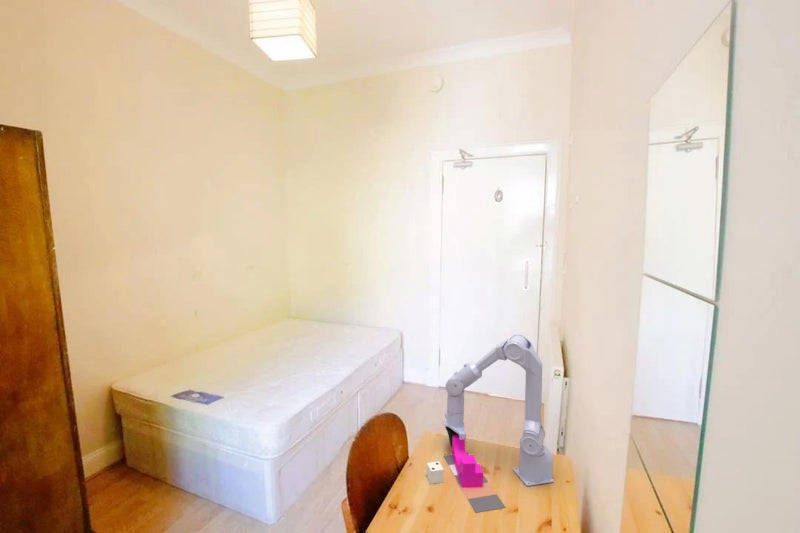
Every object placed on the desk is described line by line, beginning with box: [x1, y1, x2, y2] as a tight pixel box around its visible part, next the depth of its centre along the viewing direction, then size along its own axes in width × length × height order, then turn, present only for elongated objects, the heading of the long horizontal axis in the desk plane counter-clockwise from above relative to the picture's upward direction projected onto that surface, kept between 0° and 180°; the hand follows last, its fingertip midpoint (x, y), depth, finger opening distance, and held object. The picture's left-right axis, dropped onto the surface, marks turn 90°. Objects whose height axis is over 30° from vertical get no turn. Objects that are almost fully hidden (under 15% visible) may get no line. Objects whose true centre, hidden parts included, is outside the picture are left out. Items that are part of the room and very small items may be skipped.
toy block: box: [451, 435, 484, 489], centre depth 110 cm, size 15×6×8 cm, turn 3°
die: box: [426, 461, 445, 485], centre depth 106 cm, size 4×4×4 cm
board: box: [443, 452, 506, 514], centre depth 106 cm, size 9×25×1 cm, turn 13°
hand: (454, 447), depth 120 cm, fingers closed
